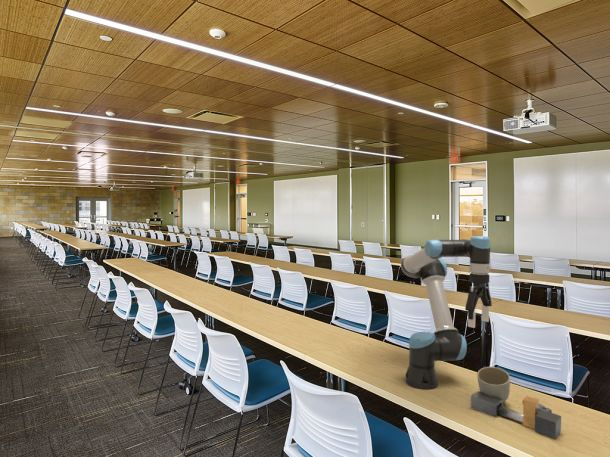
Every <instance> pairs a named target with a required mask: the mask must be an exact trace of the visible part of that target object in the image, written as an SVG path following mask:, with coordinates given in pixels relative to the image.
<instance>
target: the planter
mask: <svg viewBox="0 0 610 457" xmlns="http://www.w3.org/2000/svg"><path fill="white" fill-rule="evenodd" d="M510 377H511V376H510V374H509V373H508V372H507V371H506V370H504V369H502V368H500V367H497V366H496V367H495V366H485V367H482V368H480V369H479V370H478V372H477V383H478V388H479V391H480V392H483V393H485V394H487V395H490V396H495V397H498V398H501V399H503V403H504V402H506V401H507V400H508V399H509V397H510V390H511V388H510V387H511V378H510Z"/></svg>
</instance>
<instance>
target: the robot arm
mask: <svg viewBox="0 0 610 457" xmlns="http://www.w3.org/2000/svg"><path fill="white" fill-rule="evenodd" d="M443 257H444V258H469V282H470V283H471V284H472V285H470V286H469V287H468V294H467V299H466V303H465V312H467V327H469V328H473V329H475V328H476V311H475V310H476V307H477V305H478V302H479V299H480V301H481V303H482V305H481V321H482V322H487V323H489V322H490V307H492V303H493V302H492V296H491V292H490V284H489V283H490V274H489V273H490V269H491V265H490V264H491V240H490V237H489V236H482V235H472V236H470V239H463V238H462V239H436V238H435V239H428V240H426V242H425V243H424V247H423V248H421V249H420V250H419V251H416V252H415V253H413V254H409V255H407V256H405V257H404V258H403V259H402V260H401V263H400V268H401V271H402V273H403V274H405V275H406V276H407V277H409V278H413V279H421V282H422V283H423V284H424V285H425V287H426V292H427V296H428V301H429V305H430V310H431V312H432V313H431V314H432V318H433V322H434V327H435V330H434V332H431V331H418V332H417V331H416V332H414V333H412V334H411V335H410V337H409V343H408V347H409V353H408V355H409V356H408V358H409V359H408V360H409V362H408V367H407V370H406V372H405V374H404V375H405V376H404V378H405V379H404V380H405V381H404V382H405V383H406V384H407V385H409V386H411V387H413V388H417V389H421V390H432V389H435V388H437V387H438V386H439V378H438V375H437V371H436V366H435V365H436V364H435V362H440V361H441V362H442V361H443V362H444V361H446V362H447V361H460V360H463V359H464V358H465V357H466V355H467V347H468V346H467V344H468V343H467V340H466V338H465V337H464V335H462V334H460V333H459V330H458V329H457V328H456V327H455V326H454V322H453V318H452V314H451V310H450V307H449V302H448V299H447V294H446V291H445V290H446V289H445V287H444V281H445V280H446V277H447V274H448V271H447V270H448V266H447V263H446V261H445V259H444V258H443Z"/></svg>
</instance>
